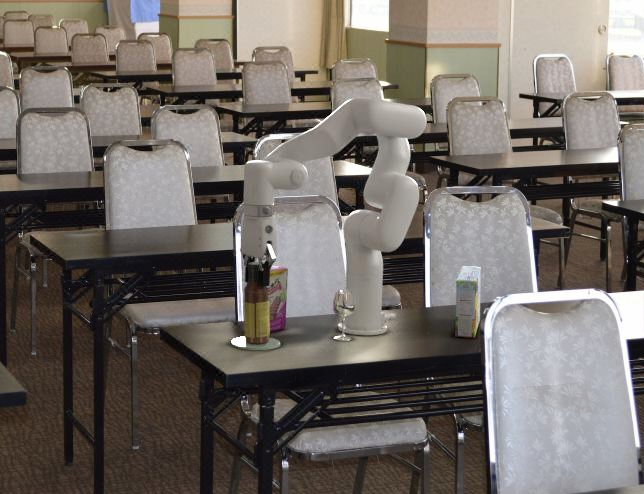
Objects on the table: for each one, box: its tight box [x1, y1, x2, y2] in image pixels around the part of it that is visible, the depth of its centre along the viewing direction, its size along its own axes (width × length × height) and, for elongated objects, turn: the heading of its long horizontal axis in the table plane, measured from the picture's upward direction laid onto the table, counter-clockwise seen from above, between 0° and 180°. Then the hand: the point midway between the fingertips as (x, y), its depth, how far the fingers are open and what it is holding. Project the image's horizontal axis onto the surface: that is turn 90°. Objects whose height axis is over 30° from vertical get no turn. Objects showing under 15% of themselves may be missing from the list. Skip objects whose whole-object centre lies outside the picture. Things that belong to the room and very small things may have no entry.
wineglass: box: [332, 289, 355, 342], centre depth 313 cm, size 6×6×12 cm
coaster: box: [231, 336, 281, 351], centre depth 306 cm, size 12×12×1 cm
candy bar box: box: [245, 265, 289, 333], centre depth 320 cm, size 11×5×16 cm, turn 135°
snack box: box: [454, 265, 482, 339], centre depth 326 cm, size 21×6×15 cm, turn 164°
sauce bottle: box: [243, 261, 271, 344], centre depth 305 cm, size 7×6×20 cm
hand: (257, 283), depth 305 cm, fingers open, 5 cm apart
